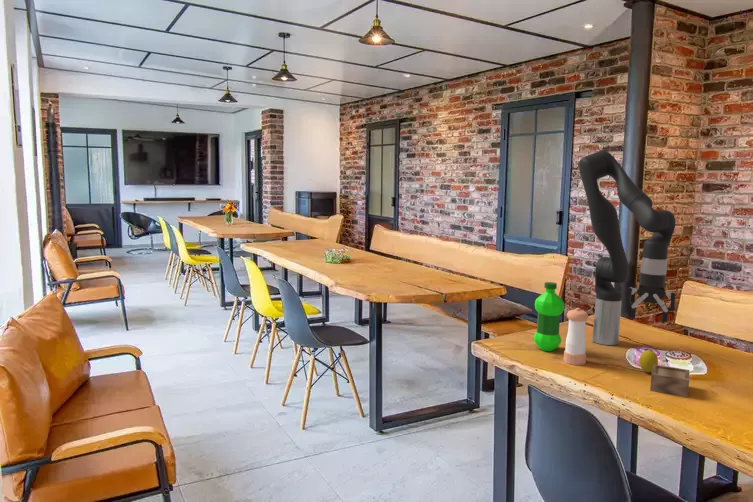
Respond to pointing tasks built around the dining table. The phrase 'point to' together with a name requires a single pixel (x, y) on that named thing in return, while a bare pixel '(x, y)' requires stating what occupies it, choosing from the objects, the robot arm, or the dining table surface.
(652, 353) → the lemon
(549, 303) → the plastic bottle
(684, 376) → the walnut box
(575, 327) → the salt shaker
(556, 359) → the dining table surface
